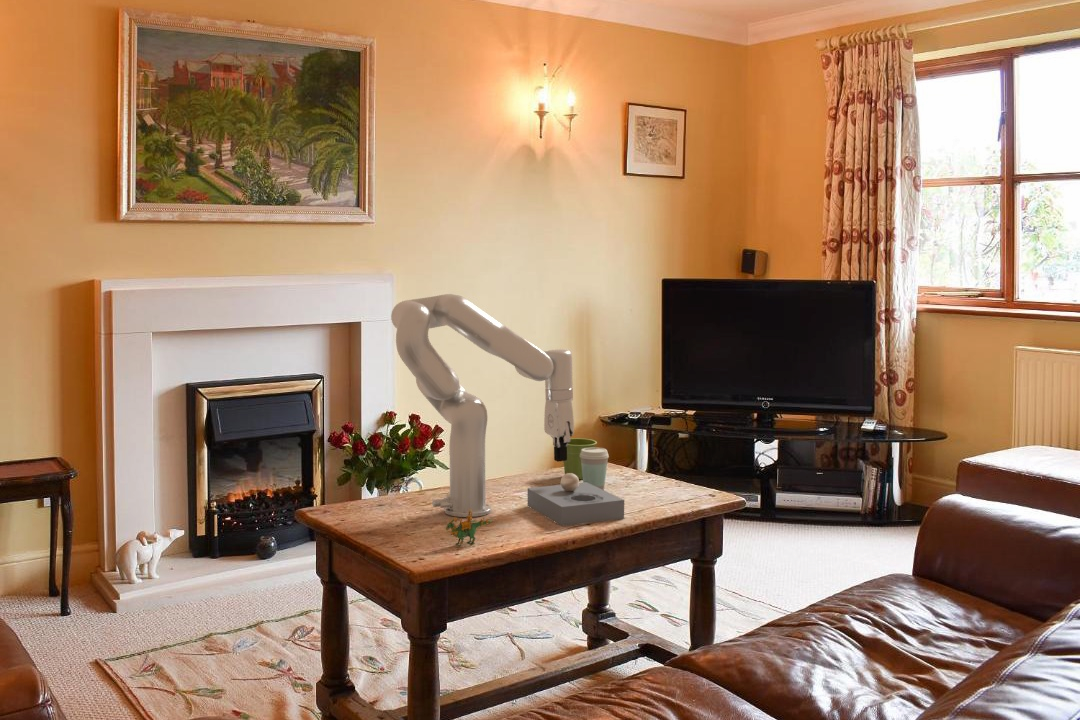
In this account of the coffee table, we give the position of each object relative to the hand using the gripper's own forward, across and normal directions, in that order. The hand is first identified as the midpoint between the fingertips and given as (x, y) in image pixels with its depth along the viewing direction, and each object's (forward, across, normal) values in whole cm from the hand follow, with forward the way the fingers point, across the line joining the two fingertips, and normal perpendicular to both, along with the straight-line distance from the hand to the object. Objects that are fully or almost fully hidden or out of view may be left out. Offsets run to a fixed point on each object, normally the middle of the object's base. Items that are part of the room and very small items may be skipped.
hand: (560, 460), depth 279 cm
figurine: (+11, +26, -37) cm, 47 cm away
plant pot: (+13, -27, +18) cm, 34 cm away
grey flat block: (+12, +10, -1) cm, 16 cm away
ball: (+4, +7, -1) cm, 9 cm away
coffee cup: (+13, -10, +15) cm, 22 cm away
